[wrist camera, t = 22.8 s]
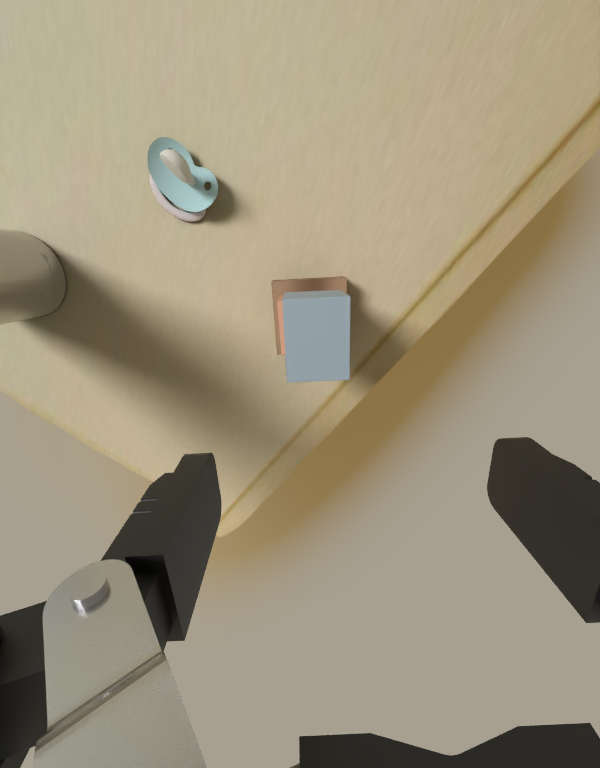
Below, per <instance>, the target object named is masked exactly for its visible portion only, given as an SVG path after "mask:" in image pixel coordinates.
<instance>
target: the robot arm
mask: <svg viewBox="0 0 600 768" xmlns="http://www.w3.org/2000/svg"><path fill="white" fill-rule="evenodd" d="M65 292H66V279H65V274H64V271H63V268H62V266H61V263H60V262H59V260H58V258H57V257H56V255H55V254H54V253H53V252H52V251H51V249H50V248H49V247H48V246H46V245H45V244H44V243H43V242H42V241H40V240H39V239H37V238H35V237H33V236H31V235H29V234H26V233H23V232H17V231H10V230H1V229H0V325H1V324H6V323H11V322H16V321H21V320H26V319H30V318H35V317H40V316H44V315H47V314H49V313H51V312H53V311H55V310H56V309H57V308H58V307H59V306H60V304H61V302H62V301H63V299H64V295H65ZM487 491H488V496H489V499H490V502H491V504H492V506H493V507H494V509H495V510H496V512H497V513H498V514H499V515H500V517H501V518H502V519H503V520H504V522H505V523H506V524H507V525H508V526H509V528H510V529H511V530H512V531H513V533H514V534H515V535H516V536H517V538H519V540H520V541H521V543H522V544H523V545H524V546H525V548H526V549H527V550H528V551H529V553H530V554H531V555H532V556H533V557H534V559H535V560H536V561H537V562H538V564H539V565H540V566H541V567H542V569H543V570H544V571H545V572H546V574H547V575H548V576H549V577H550V579H551V580H552V581H553V582H554V584H555V585H556V586H557V587H558V588H559V590H560V591H561V592H562V593H563V595H564V596H565V597H566V598H567V600H568V601H569V602H570V603H571V605H572V606H573V607H574V608H575V609H576V611H577V612H578V613H579V615H580V616H581V617H582V618H583V619H584V621H585V622H586V623H595V622H600V483H599V482H598V481H596V480H592V477H591V476H590V475H588V474H587V473H585V472H584V471H583V470H581V469H580V468H579V467H577V466H576V465H574V464H572V463H570V462H568V461H566V460H564V459H561V458H559V457H557V456H555V455H553V454H551V453H550V452H549V451H547V450H546V449H545V448H543V447H542V446H541V445H539V444H538V443H537V442H535V441H534V440H533V439H531V438H528V437H521V438H502V439H498V440H497V441H496V442H495V445H494V448H493V454H492V460H491V466H490V472H489V478H488V484H487ZM220 517H221V495H220V489H219V483H218V476H217V470H216V464H215V459H214V456H213V454H212V453H200V454H185V455H184V456H183V457H182V459H181V461H180V462H179V464H178V466H177V468H176V469H175V471H174V473H165V474H164V475H162V476H161V477H160V478H158V479H157V480H156V481H155V482H153V483H152V484H151V485H150V486H149V488H148V489H147V491H146V492H145V494H144V495H143V497H142V498H141V502H139V503H138V504H137V506H136V508H135V509H134V511H133V514H131V515H130V517H129V518H128V520H127V521H126V523H125V524H124V526H123V527H122V529H121V530H120V532H119V534H118V535H117V536H116V538H115V540H114V541H113V543H112V544H111V546H110V547H109V549H108V551H107V552H106V553H105V555H104V557H103V558H102V560H101V561H99V562H95V563H92V564H90V565H88V566H85V567H84V568H82V569H80V570H78V571H77V572H75V573H73V574H72V575H71V576H69V577H68V578H66V579H65V580H64V581H63V582H62V583H61V584H60V585H59V586H58V587H57V588H56V589H55V590H54V591H53V592H52V594H51V595H50V597H49V598H48V600H47V601H45V602H42V603H39V604H36V605H33V606H30V607H27V608H24V609H20V610H18V611H14V612H11V613H8V614H4V615H1V616H0V768H20V767H21V765H22V763H23V761H24V759H25V757H26V755H27V753H28V751H29V749H30V748H31V747H33V746H36V747H35V755H34V768H207V767H206V764H205V761H204V759H203V756H202V753H201V750H200V748H199V745H198V743H197V740H196V737H195V734H194V731H193V729H192V726H191V724H190V721H189V718H188V715H187V713H186V710H185V707H184V704H183V702H182V699H181V696H180V693H179V691H178V688H177V685H176V683H175V680H174V677H173V675H172V672H171V669H170V666H169V664H168V661H167V659H166V656H165V654H164V652H163V651H164V648H165V645H166V642H167V641H184V640H185V637H186V634H187V630H188V627H189V624H190V620H191V617H192V613H193V610H194V607H195V603H196V600H197V597H198V593H199V590H200V586H201V583H202V580H203V576H204V572H205V569H206V566H207V563H208V559H209V556H210V552H211V549H212V546H213V542H214V539H215V535H216V532H217V529H218V525H219V522H220ZM299 740H300V743H299V744H300V763H299V764H297V765H295V766H293V767H290V768H600V738H599V736H598V735H597V733H596V732H595V730H594V729H593V727H592V726H591V724H590V723H581V724H559V725H538V726H518V727H516V728H514V729H512V730H510V731H507V732H505V733H503V734H501V735H499V736H497V737H495V738H493V739H491V740H488V741H486V742H484V743H482V744H480V745H478V746H476V747H474V748H471V749H470V750H467V751H465V752H463V753H461V754H458V755H453V756H449V755H444V754H440V753H437V752H433V751H430V750H426V749H422V748H420V747H416V746H413V745H409V744H406V743H402V742H399V741H395V740H392V739H389V738H385V737H381V736H378V735H374V734H371V733H368V734H367V733H366V734H344V735H322V736H300V737H299Z"/></svg>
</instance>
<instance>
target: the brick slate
mask: <svg viewBox="0 0 600 768" xmlns="http://www.w3.org/2000/svg"><path fill="white" fill-rule="evenodd" d="M282 302H283V320H284V337H285V354H286V372H287V382H310V381H333V380H350V296H349V295H348V294H346V293H344V292H343V291H341V290H328V291H305V292H285V293H284V296H283V299H282Z"/></svg>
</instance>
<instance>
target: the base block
mask: <svg viewBox="0 0 600 768" xmlns="http://www.w3.org/2000/svg"><path fill="white" fill-rule="evenodd" d="M328 290H341V291H343V292H344V293H346V294H347V278H346V277H325V278H307V279H289V280H273V281H272V295H273V307H274V320H275V333H276V346H277V355H279V354H281V343H280V331H279V319H278V307H277V301H278V299H279V296H280V295H284V293H285V292H305V291H328Z"/></svg>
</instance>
